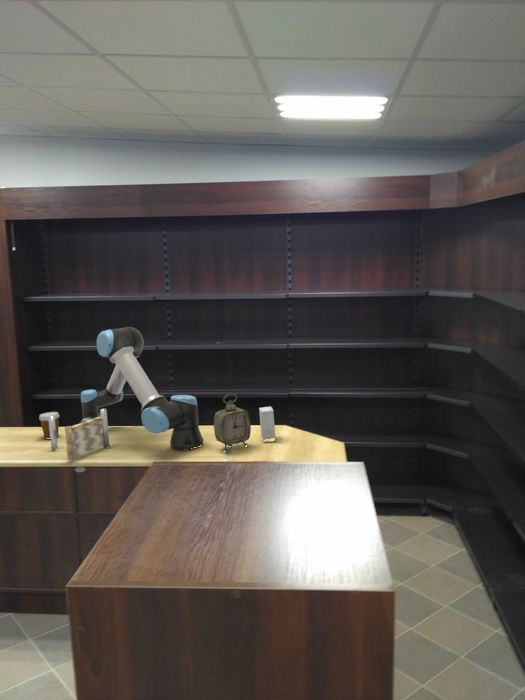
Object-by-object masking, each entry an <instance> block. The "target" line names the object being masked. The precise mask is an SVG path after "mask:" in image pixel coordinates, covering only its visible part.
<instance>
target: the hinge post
mask: <svg viewBox="0 0 525 700" xmlns="http://www.w3.org/2000/svg"><path fill="white" fill-rule="evenodd" d="M99 415H100V416H101V417H102V429H103V439H104V446H102V447H103V449H108V448H110V447H111V445H110V437H109V436H110V434H109V433H110V432H109V424H108V411H107V408H105V407H104V408H100V409H99ZM107 447H108V448H107Z"/></svg>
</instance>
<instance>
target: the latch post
mask: <svg viewBox="0 0 525 700" xmlns="http://www.w3.org/2000/svg"><path fill="white" fill-rule="evenodd" d="M48 421H49V430H50V439H51V440H50V447H51V451H52V450H56V449H58V450H59V445H58V444H59V443H58V438H57V434H56V424H55V416H48Z"/></svg>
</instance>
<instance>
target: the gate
mask: <svg viewBox="0 0 525 700" xmlns="http://www.w3.org/2000/svg"><path fill="white" fill-rule="evenodd" d="M79 423H80V422H79ZM79 423H78V424H74V425H68V426H65V427H64V431H65V432H64V433H65V441H66V450H67V460H73V459H75V458H77V457H79V456H83V455H84V454H86V453H89V452H92V451H94V450H97V449H99V448H101V447H103V446H104V439H103V429H102V417H97V418H94V419H91V420H88V421H85V422H82V423H80V424H79Z"/></svg>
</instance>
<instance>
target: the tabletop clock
mask: <svg viewBox="0 0 525 700" xmlns="http://www.w3.org/2000/svg"><path fill="white" fill-rule="evenodd" d="M229 396H234V397H235V399H233V400H232V399H230V400H229V401H225V399H226V398H227V397H229ZM237 400H238V395H237V394H235V393H228V394H226V395H225V396H224V397H223V399H222V401H223V403H224V404H226V406H225V408H224V409H221V410H218V411H217V412H215V413H214V415H213V432H214V436H215V440H216V441H218V442H219V443H222V444H224V449H223V451H227V452H228V450H227V446H228V447H229V446H232V447H233V445H238V444H242V443H243V446H244V445H245V446H246V445H248V444H247V443H245V442H246V441H248V440H249V439H250V436H251V431H252V429H251V428H252V427H251V426H252V425H251V423H252V422H251V416H250V413H249V411H247V410H245V409H242V408H240V407H237V405H236V404H234V403H235V402H236V401H237ZM223 451H222V452H223Z"/></svg>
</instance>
